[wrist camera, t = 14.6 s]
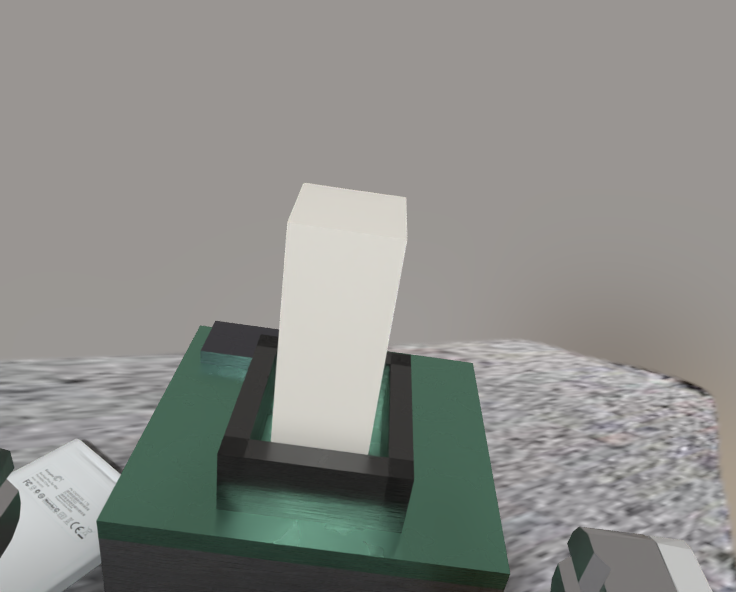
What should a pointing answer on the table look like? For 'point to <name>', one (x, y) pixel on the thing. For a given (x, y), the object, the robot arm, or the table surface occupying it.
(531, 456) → the table surface
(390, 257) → the keyed plug
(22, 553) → the external hard drive
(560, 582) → the robot arm
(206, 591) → the green-topped socket block
